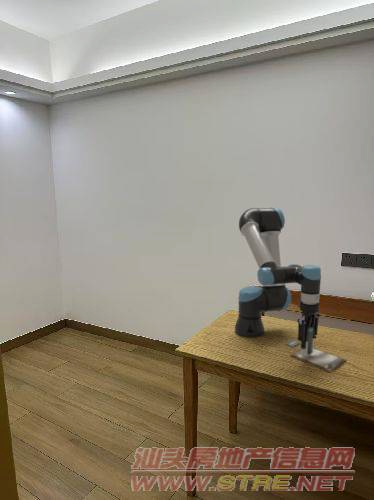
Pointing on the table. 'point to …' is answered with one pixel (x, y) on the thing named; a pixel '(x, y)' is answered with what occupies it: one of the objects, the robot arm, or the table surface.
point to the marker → (310, 341)
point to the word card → (292, 343)
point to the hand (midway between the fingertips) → (306, 353)
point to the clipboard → (320, 359)
